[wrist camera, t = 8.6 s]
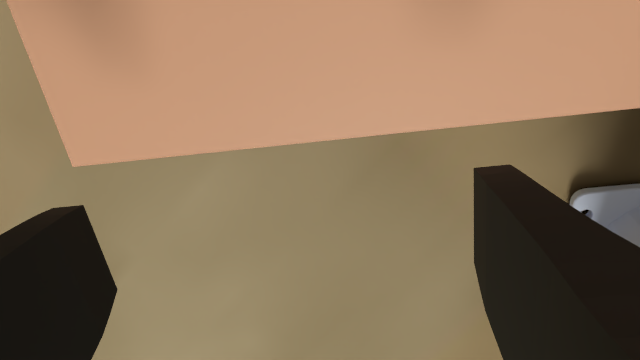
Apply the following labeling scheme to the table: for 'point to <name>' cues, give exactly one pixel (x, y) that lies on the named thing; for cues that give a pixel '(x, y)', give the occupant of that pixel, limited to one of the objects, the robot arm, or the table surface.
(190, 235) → the table surface
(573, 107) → the lid
